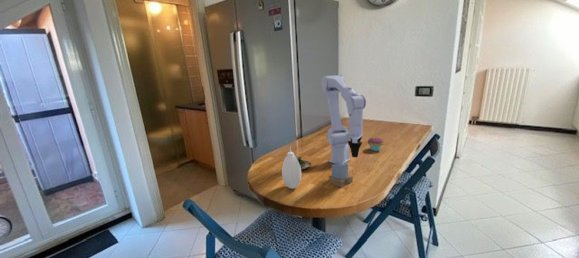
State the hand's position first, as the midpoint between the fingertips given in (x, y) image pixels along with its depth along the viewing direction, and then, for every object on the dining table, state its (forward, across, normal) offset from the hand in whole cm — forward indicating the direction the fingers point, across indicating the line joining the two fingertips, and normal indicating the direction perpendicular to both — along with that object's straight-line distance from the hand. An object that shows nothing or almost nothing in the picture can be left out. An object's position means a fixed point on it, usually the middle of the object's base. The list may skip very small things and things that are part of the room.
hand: (355, 153), depth 111 cm
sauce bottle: (+10, +17, -24) cm, 32 cm away
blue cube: (+7, +8, -6) cm, 12 cm away
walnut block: (+10, +8, -6) cm, 14 cm away
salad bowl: (+10, -5, -27) cm, 29 cm away
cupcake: (+10, -37, +10) cm, 39 cm away
